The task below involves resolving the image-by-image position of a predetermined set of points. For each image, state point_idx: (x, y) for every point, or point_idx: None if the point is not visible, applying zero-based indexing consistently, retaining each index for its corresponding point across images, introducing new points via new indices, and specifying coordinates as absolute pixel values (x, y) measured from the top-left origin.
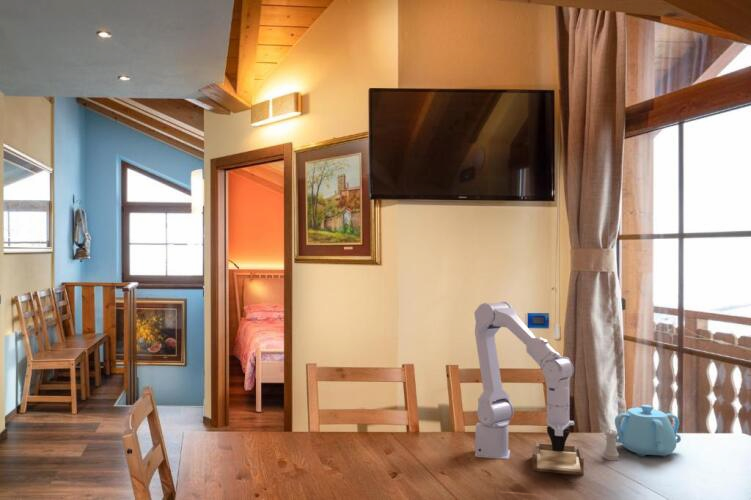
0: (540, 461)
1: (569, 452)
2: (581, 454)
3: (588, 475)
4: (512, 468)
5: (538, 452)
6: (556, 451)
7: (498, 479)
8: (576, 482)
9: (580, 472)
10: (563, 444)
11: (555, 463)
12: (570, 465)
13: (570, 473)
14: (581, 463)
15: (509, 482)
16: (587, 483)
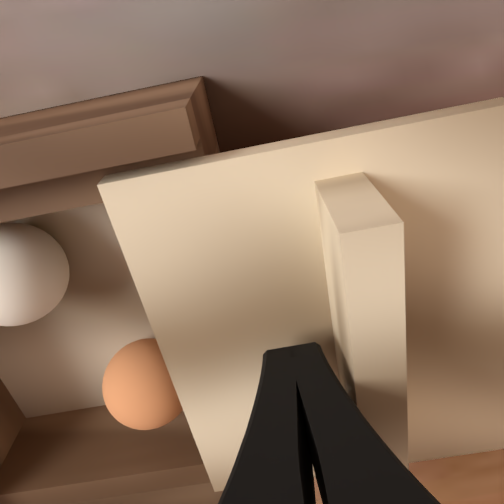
0: (412, 444)
1: (373, 313)
2: (18, 159)
3: (143, 33)
4: None
5: (124, 480)
6: (382, 435)
7: (455, 492)
8: (376, 116)
9: (206, 111)
10: (398, 467)
11: (432, 349)
12: (461, 220)
13: None
14: (199, 121)
15: (488, 452)
16: (371, 14)
